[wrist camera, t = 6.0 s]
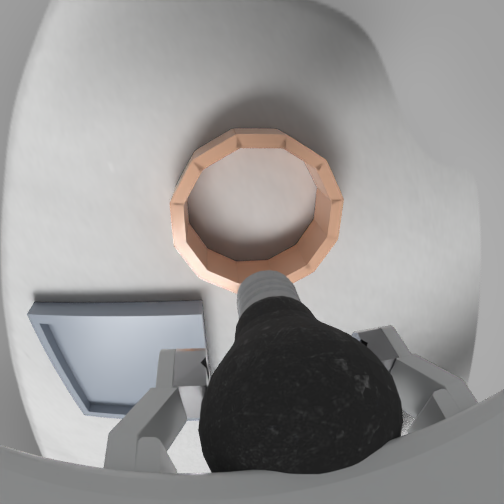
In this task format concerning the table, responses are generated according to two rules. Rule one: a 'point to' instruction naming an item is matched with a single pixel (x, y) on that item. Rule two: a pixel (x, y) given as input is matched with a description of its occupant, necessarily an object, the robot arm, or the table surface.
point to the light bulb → (294, 390)
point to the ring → (287, 262)
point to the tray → (114, 347)
